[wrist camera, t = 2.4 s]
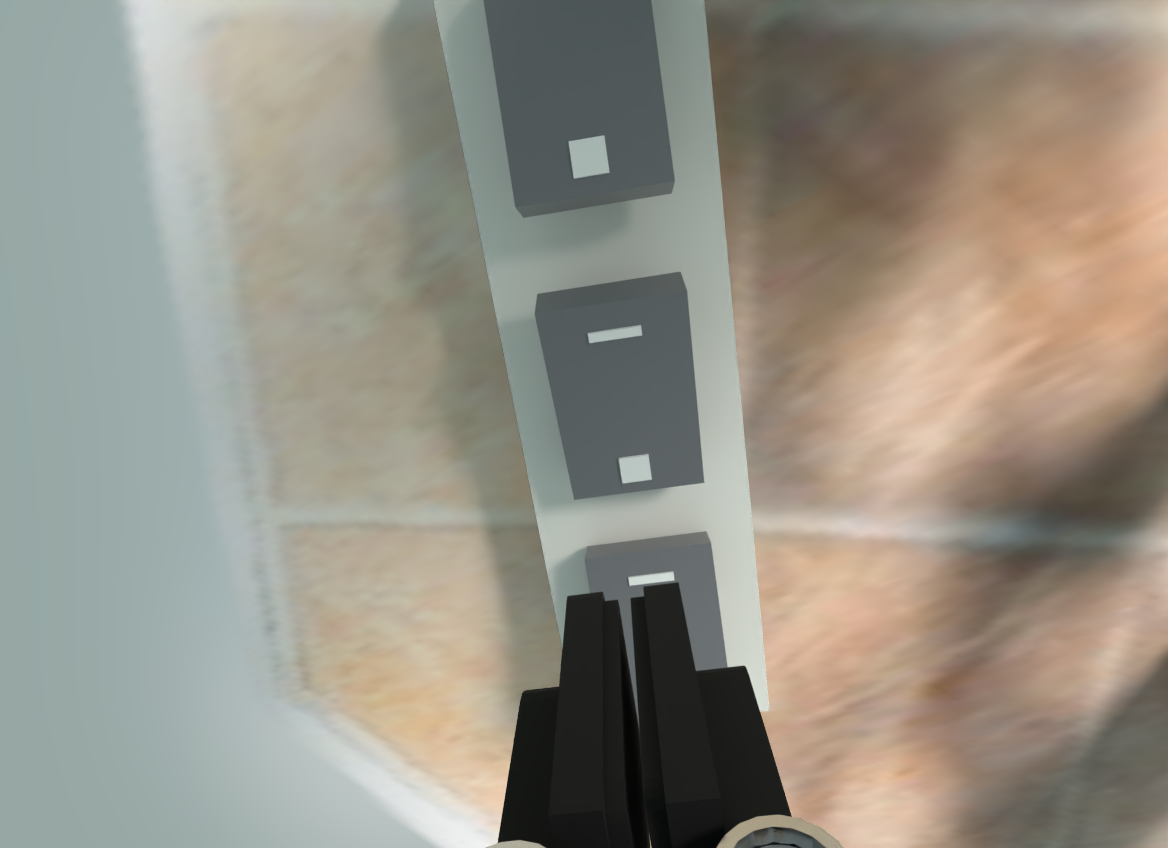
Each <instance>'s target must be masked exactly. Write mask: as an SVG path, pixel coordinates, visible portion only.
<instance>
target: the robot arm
mask: <svg viewBox="0 0 1168 848" xmlns="http://www.w3.org/2000/svg"><path fill="white" fill-rule="evenodd" d="M643 590H644V596H642V597H634V598H630V601H631V615H632V630H633V644H634V659H635V673H636V687H637V702H638V716H639V724H638V718H637V712H636V706H635V699H634V693H633V687H632V681H631V675H630V669H629V662H628V656H627V650H626V644H625V638H624V631H623V625H622V619H621V613H620V607H619V602H618V599H617V600H609V601H605V597H604V593H603V592H595V593H587V594H579V595H571V596H567V602H566V613H565V625H564V637H563V649H562V660H561V672H560V684H559V687H552V688H543V689H534V690H526V691H524V692H523V693H522V696H521V700H520V706H519V712H518V719H517V725H516V731H515V737H514V744H513V750H512V756H511V763H510V769H509V775H508V782H507V788H506V794H505V801H504V807H503V813H502V820H501V826H500V832H499V838H498V843H497V844H494V845H492V846H489V847H486V848H650V840H651V846H652V848H843V847H842V845H841V844H840V843H839V841H838V840H836V839H835V838H834V837H832V836H831V835H830V834H829V833H827V832H826V831H825V830H823V829H822V828H821V827H819V826H817V825H814V824H812V823H810V822H807V821H805V820H803V819H801V818H796V817H792V816H791V813H790V809H789V806H788V803H787V799H786V796H785V793H784V790H783V786H782V783H781V780H780V776H779V773H778V770H777V766H776V763H775V760H774V756H773V753H772V750H771V746H770V743H769V740H768V736H767V733H766V730H765V727H764V723H763V720H762V717H761V713H760V710H759V707H758V703H757V700H756V697H755V693H754V690H753V687H752V683H751V680H750V677H749V674H748V671H747V668H746V667H745V665H744V666H735V667H726V668H718V669H709V670H700V671H696V669H695V664H694V659H693V654H692V649H691V643H690V638H689V633H688V628H687V623H686V618H685V613H684V607H683V602H682V597H681V592H680V587H679V583H678V582H676V583H668V584H660V585H652V586H643ZM649 834H650V838H649Z"/></svg>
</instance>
